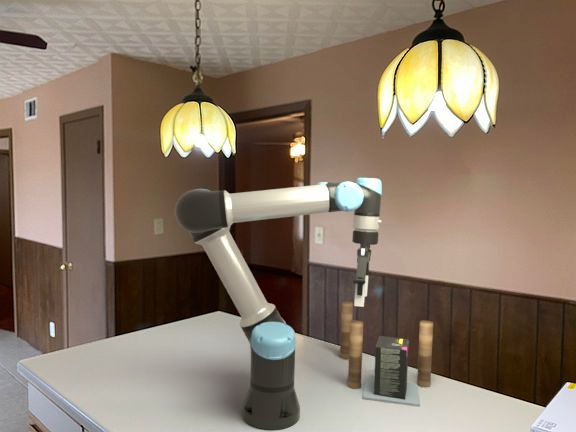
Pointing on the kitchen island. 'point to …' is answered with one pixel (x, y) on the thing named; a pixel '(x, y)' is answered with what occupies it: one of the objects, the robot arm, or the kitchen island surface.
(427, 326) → the post
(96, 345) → the kitchen island surface
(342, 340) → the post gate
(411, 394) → the pad
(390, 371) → the tampon box
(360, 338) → the post corner
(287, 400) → the robot arm
